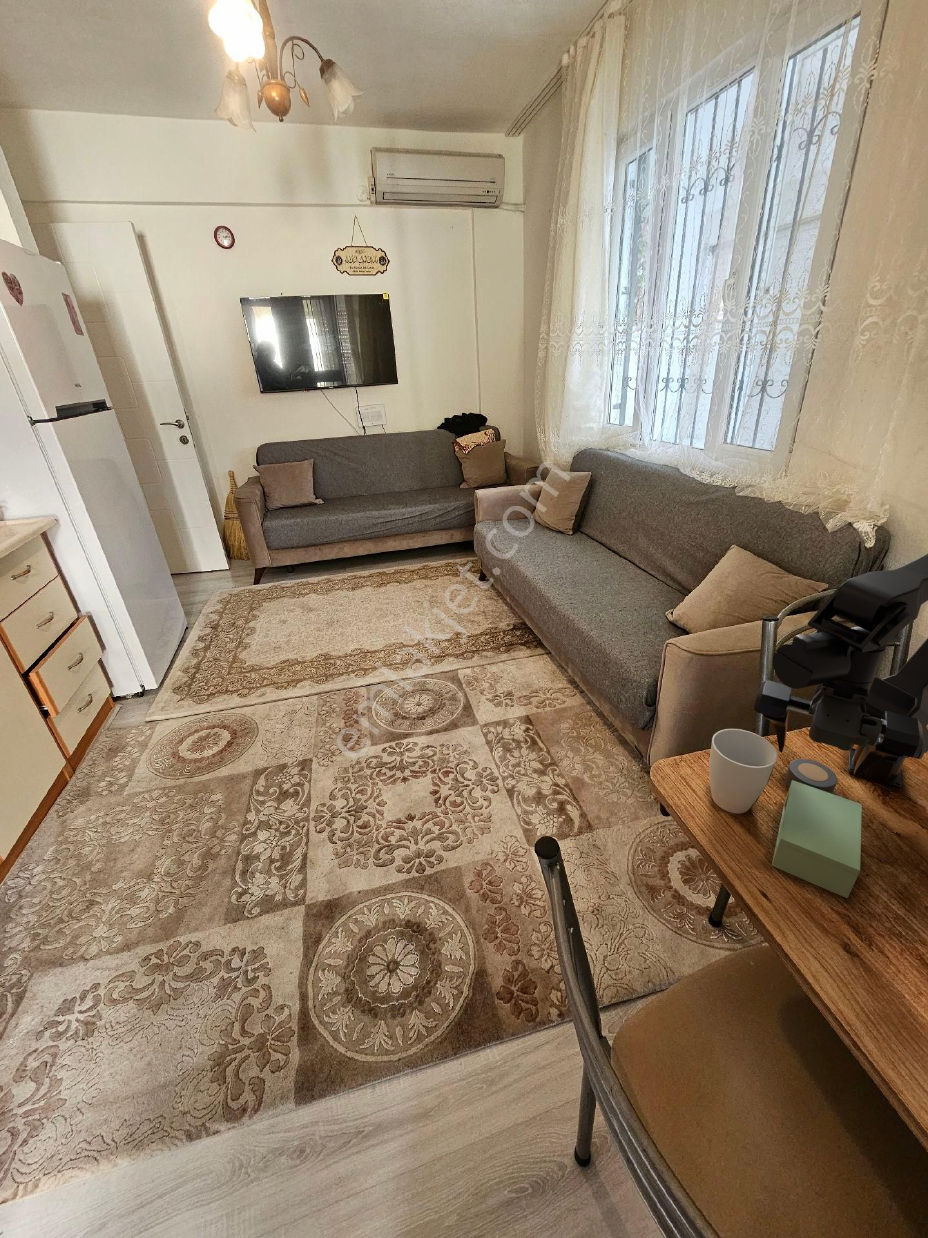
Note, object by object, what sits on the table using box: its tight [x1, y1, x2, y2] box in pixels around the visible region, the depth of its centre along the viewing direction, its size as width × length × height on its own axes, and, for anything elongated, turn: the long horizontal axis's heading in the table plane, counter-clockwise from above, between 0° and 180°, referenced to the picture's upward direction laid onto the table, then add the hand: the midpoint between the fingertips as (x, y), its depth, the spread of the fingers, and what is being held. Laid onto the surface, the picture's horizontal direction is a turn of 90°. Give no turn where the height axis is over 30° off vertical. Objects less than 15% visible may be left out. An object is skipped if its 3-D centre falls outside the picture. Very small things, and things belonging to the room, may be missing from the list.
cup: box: [708, 728, 779, 814], centre depth 72 cm, size 8×8×10 cm
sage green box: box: [771, 780, 863, 899], centre depth 66 cm, size 12×8×5 cm, turn 144°
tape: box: [784, 758, 838, 795], centre depth 75 cm, size 6×6×3 cm
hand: (816, 762), depth 74 cm, fingers open, 9 cm apart
